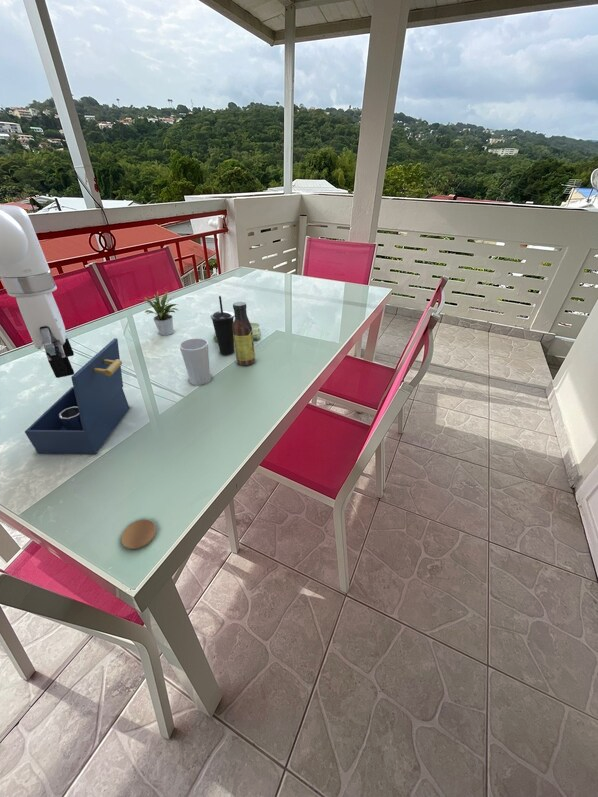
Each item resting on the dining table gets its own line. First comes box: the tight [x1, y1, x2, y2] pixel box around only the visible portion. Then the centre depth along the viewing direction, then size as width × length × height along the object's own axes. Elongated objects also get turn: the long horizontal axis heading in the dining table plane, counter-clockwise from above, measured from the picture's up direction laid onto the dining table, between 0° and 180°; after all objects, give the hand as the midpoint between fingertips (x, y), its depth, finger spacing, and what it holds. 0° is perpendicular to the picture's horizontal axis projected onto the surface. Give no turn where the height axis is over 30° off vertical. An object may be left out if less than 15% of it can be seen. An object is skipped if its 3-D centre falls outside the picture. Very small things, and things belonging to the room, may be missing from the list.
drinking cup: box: [210, 295, 235, 356], centre depth 111 cm, size 8×8×20 cm
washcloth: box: [213, 322, 261, 342], centre depth 128 cm, size 13×18×3 cm
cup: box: [178, 337, 212, 386], centre depth 98 cm, size 8×8×12 cm
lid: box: [70, 337, 124, 431], centre depth 74 cm, size 14×18×4 cm
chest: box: [24, 386, 130, 455], centre depth 80 cm, size 13×18×7 cm
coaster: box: [120, 519, 157, 551], centre depth 58 cm, size 6×6×1 cm
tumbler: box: [59, 406, 84, 431], centre depth 78 cm, size 5×5×6 cm
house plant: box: [139, 290, 179, 336], centre depth 125 cm, size 14×14×16 cm
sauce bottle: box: [232, 301, 256, 366], centre depth 106 cm, size 6×6×20 cm
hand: (65, 365), depth 70 cm, fingers open, 9 cm apart
